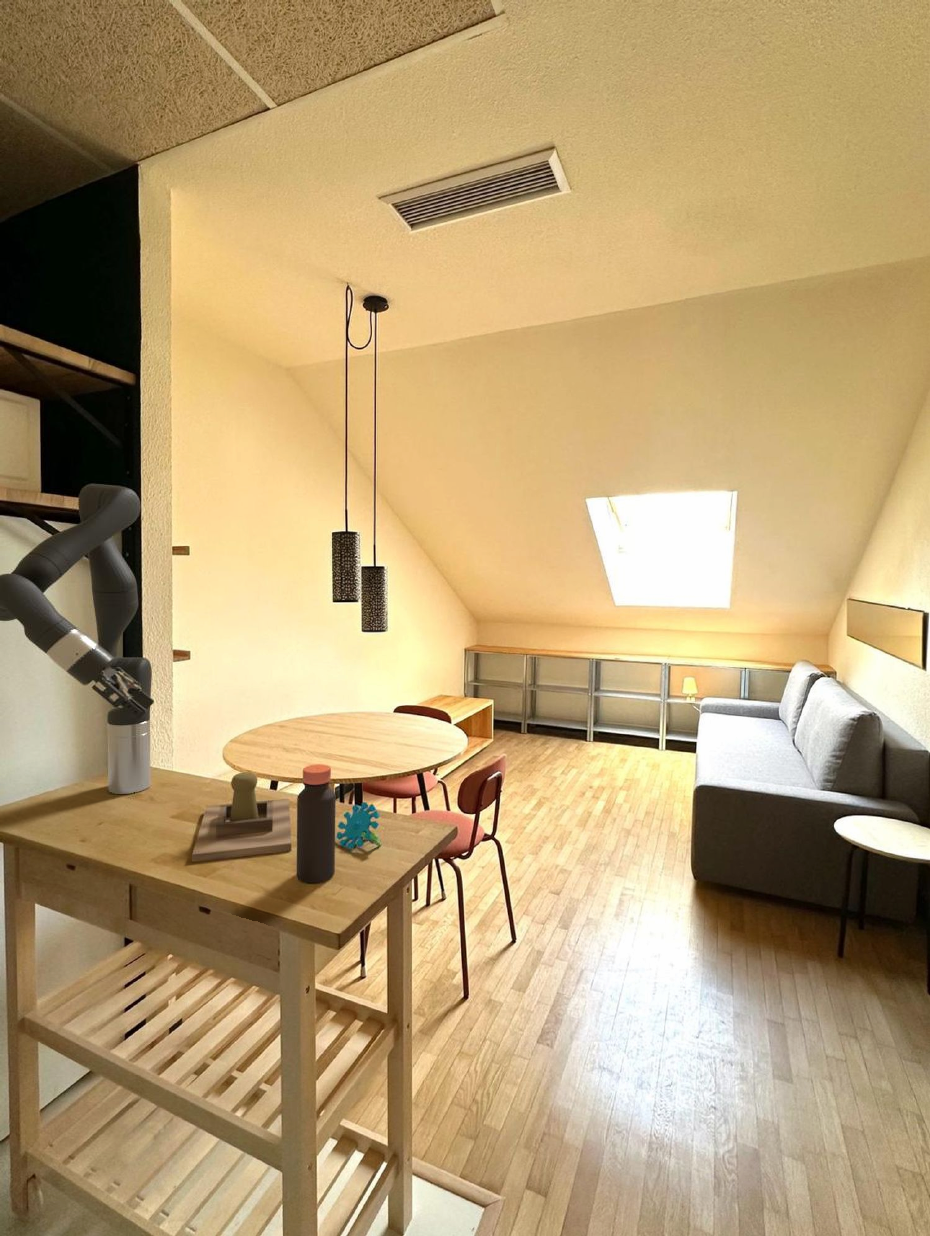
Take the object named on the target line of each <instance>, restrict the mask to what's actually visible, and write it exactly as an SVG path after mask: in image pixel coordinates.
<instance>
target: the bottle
mask: <svg viewBox="0 0 930 1236" xmlns="http://www.w3.org/2000/svg"><path fill="white" fill-rule="evenodd" d="M331 772H332V769H331V766H330V765H327V764H322V763H320V764H318V763H316V764H310V765H307V766H305V767H304V768H303V769H302V784H303V786H304V788H303V789H302V790H301V791H300V792H299V794H298V795H297V798H296V799H297V800H296V801H297V802H296V877H297V879H298V880H299V881H300V882H301V883H304V884H311V885H314V884H320V883H324V882H327V881H329V880H330V879H331V878H332V877H334V874H335V868H336V867H335V866H336V865H335V864H336V861H335V860H336V859H335V858H336V850H335V849H336V800H337V799H336V795H337V794H336V793H335V790H333V789H332V788H331V787H330V785H329V784H330V783H331V778H332V777H331V774H332V773H331Z"/></svg>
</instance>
